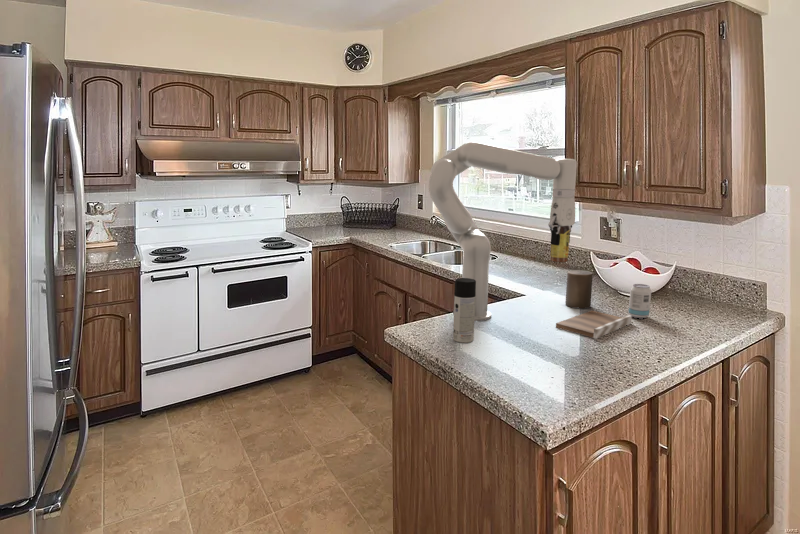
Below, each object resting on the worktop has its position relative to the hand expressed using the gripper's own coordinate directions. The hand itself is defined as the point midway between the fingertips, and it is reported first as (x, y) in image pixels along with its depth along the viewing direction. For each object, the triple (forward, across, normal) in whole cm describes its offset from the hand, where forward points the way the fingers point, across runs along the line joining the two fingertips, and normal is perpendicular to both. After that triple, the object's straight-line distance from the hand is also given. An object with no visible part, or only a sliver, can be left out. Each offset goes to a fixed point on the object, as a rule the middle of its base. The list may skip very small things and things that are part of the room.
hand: (560, 243), depth 182 cm
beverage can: (+28, +21, -22) cm, 41 cm away
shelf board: (+27, 0, -15) cm, 31 cm away
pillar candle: (+28, +19, +1) cm, 34 cm away
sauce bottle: (+7, 0, 0) cm, 7 cm away
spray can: (+28, -46, +6) cm, 54 cm away
